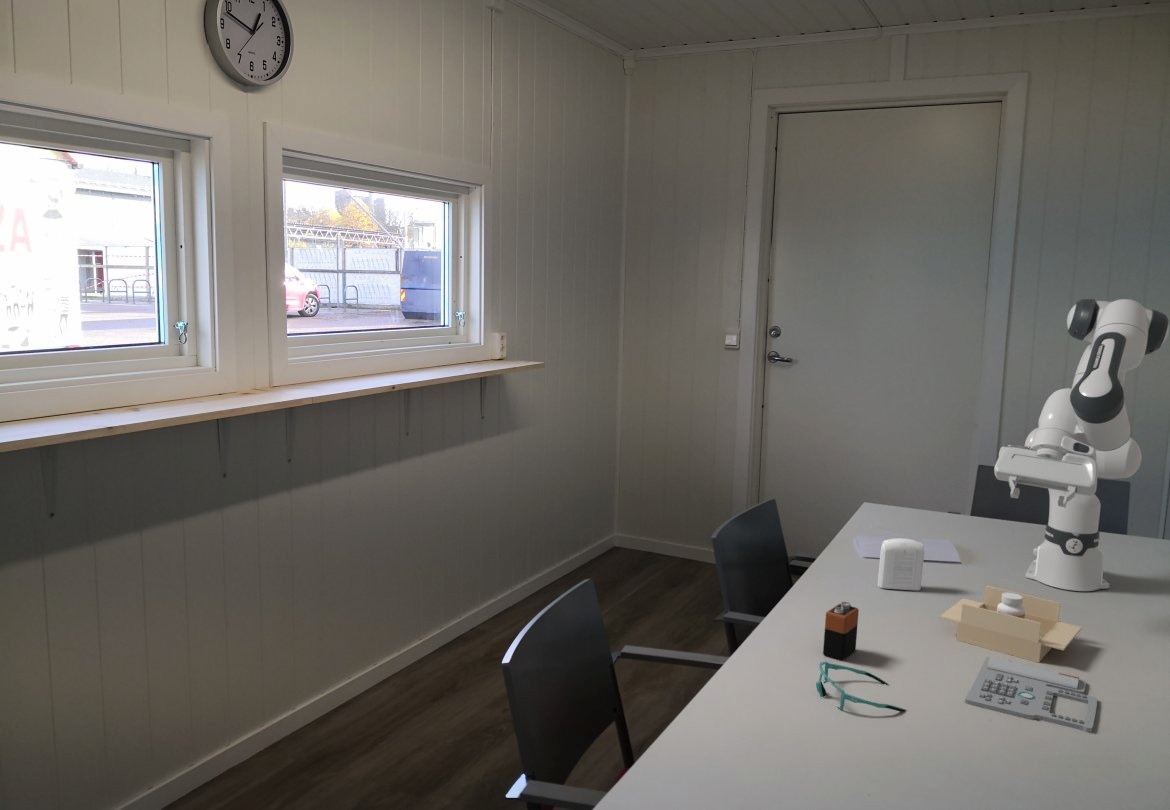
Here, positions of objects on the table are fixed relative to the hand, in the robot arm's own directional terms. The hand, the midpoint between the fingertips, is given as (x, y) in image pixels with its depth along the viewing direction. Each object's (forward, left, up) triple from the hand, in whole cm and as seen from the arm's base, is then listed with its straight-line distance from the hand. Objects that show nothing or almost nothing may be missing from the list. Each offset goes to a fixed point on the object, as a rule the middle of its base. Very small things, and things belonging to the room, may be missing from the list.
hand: (1037, 500), depth 196 cm
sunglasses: (+51, -31, -29) cm, 66 cm away
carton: (+10, -4, -28) cm, 30 cm away
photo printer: (-14, -27, -28) cm, 41 cm away
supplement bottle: (+10, -4, -28) cm, 30 cm away
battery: (+33, -36, -28) cm, 57 cm away
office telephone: (+36, -1, -29) cm, 47 cm away
